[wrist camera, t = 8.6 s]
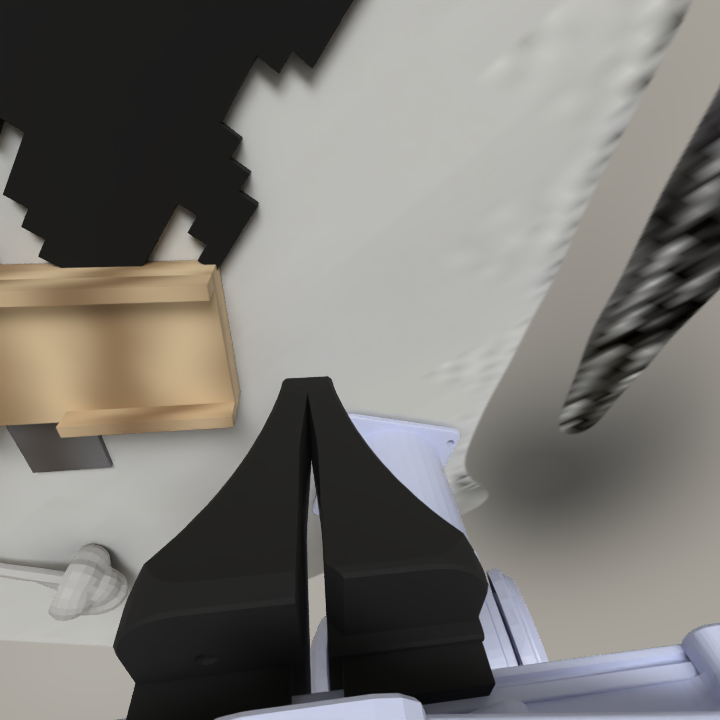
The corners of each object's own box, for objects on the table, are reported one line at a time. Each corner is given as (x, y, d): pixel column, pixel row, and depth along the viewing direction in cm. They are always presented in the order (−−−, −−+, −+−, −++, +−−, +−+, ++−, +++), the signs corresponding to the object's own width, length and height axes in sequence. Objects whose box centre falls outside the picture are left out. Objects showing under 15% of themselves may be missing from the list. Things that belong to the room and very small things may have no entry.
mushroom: (-108, 581, 25) (104, 620, 27) (-47, 506, 29) (138, 545, 30) (-63, 611, 30) (114, 642, 32) (-16, 543, 33) (143, 575, 35)
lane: (217, 259, 21) (200, 299, 17) (250, 454, 28) (243, 510, 24) (-314, 271, 18) (-461, 319, 15) (-127, 480, 26) (-196, 545, 22)
